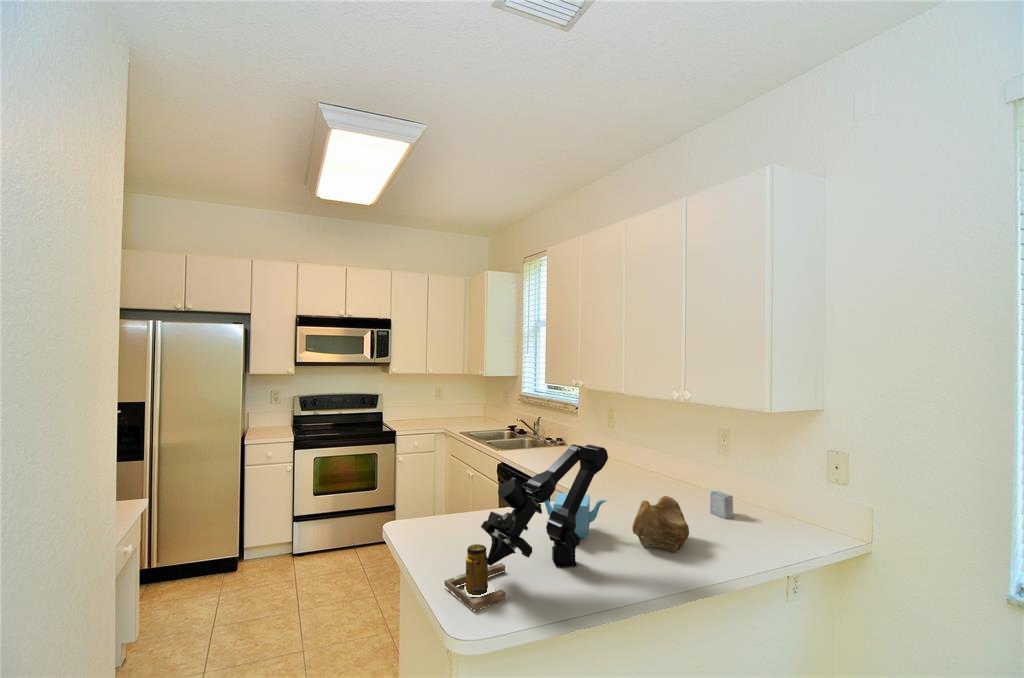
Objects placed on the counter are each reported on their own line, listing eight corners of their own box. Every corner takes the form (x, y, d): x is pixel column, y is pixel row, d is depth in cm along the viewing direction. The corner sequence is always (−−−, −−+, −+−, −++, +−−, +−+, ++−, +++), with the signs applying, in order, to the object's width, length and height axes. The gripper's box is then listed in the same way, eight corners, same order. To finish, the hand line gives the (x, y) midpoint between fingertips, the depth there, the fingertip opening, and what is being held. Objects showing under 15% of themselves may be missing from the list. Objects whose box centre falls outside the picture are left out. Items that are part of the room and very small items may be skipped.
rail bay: (501, 569, 153) (501, 562, 153) (533, 589, 140) (533, 581, 140) (444, 587, 141) (444, 579, 141) (473, 611, 129) (473, 602, 129)
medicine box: (733, 517, 199) (733, 495, 199) (724, 519, 198) (724, 497, 198) (718, 511, 207) (718, 490, 207) (710, 513, 205) (709, 491, 205)
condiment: (462, 586, 142) (462, 543, 142) (492, 583, 144) (492, 541, 144) (466, 599, 135) (466, 554, 135) (497, 595, 137) (497, 551, 137)
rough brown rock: (669, 565, 158) (674, 518, 157) (624, 546, 169) (628, 502, 169) (702, 547, 174) (707, 504, 173) (659, 530, 186) (663, 490, 185)
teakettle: (568, 548, 169) (569, 504, 169) (535, 531, 184) (535, 490, 184) (609, 536, 179) (609, 495, 179) (574, 521, 195) (574, 483, 195)
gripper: (486, 493, 152) (453, 538, 145) (524, 509, 137) (489, 560, 130) (507, 514, 156) (477, 558, 150) (546, 532, 141) (514, 583, 134)
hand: (488, 564), depth 141 cm, fingers closed
